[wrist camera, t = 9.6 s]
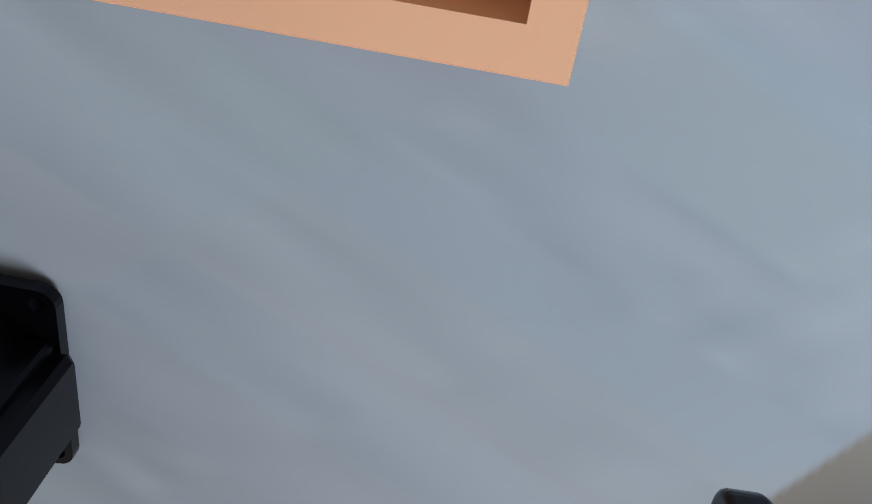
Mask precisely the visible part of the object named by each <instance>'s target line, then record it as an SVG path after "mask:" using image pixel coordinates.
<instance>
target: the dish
mask: <svg viewBox="0 0 872 504" xmlns="http://www.w3.org/2000/svg"><path fill="white" fill-rule="evenodd" d="M94 1H100V2H105V3H111V4H116V5H122V6H127V7H133V8H138V9H144V10H149V11H155V12H161V13H166V14H172V15H177V16H183V17H188V18H194V19H199V20H205V21H210V22H216V23H221V24H227V25H232V26H238V27H243V28H249V29H255V30H260V31H266V32H271V33H277V34H282V35H288V36H293V37H299V38H304V39H310V40H315V41H321V42H326V43H332V44H337V45H343V46H349V47H354V48H360V49H365V50H371V51H376V52H382V53H387V54H393V55H398V56H404V57H409V58H415V59H420V60H426V61H431V62H437V63H443V64H448V65H454V66H459V67H465V68H470V69H476V70H481V71H487V72H492V73H498V74H503V75H509V76H514V77H520V78H525V79H531V80H536V81H542V82H548V83H553V84H559V85H564V86H568V84H569V80H570V76H571V72H572V68H573V64H574V60H575V56H576V52H577V48H578V44H579V39H580V35H581V31H582V27H583V23H584V19H585V15H586V11H587V7H588V3H589V0H94Z"/></svg>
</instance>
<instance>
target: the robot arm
mask: <svg viewBox="0 0 872 504" xmlns="http://www.w3.org/2000/svg"><path fill="white" fill-rule="evenodd" d="M37 299H40V300H42V301H43V302H44V303H45V304H46V305H44V304H41V303H40V302H39V301H38V300H37ZM80 424H81V421H80V411H79V402H78V393H77V384H76V375H75V365H74V362H73V361H72V359H71V357H70V355H69V349H68V340H67V332H66V323H65V314H64V305H63V299H62V296H61V294H60V293H59V292H58V291H57V289H55V288H54V287H52V286H51V285H48V284H46V283H42V282H37V281H31V280H26V279H21V278H15V277H10V276H4V275H0V504H27V503H28V501H29V500H30V498H31V497H32V495H33V494H34V493H35V491H36V490H37V488H38V487H39V485H40V484H41V482H42V481H43V479H44V478H45V477H46V475H47V474H48V472H49V471H50V469H51V468H52V466H53V465H54V463H64V464H65V463H68V462H70V461H71V460H72V459H73V457H74V456H75V454H76V453H77V451H78V450H79V438H78V429H79V427H80ZM711 504H773V503H772V502H771V501H770V500H769V499H768V498H767V497H765V496H764V495H763V494H760V493H757V492H750V491H743V490H736V489H729V488H725V489H721V490H719V491H718V492H717V493H716V495H715V496H714V498H713V501H712V503H711Z"/></svg>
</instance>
